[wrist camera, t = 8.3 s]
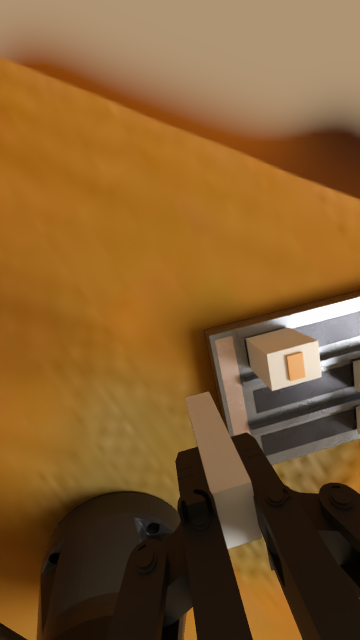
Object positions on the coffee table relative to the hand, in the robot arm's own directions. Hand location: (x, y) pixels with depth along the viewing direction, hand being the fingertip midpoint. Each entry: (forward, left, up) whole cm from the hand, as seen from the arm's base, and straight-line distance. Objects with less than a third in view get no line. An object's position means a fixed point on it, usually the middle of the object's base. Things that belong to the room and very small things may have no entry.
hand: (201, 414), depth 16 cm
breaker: (+8, 0, -7) cm, 10 cm away
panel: (+13, -5, -9) cm, 16 cm away
